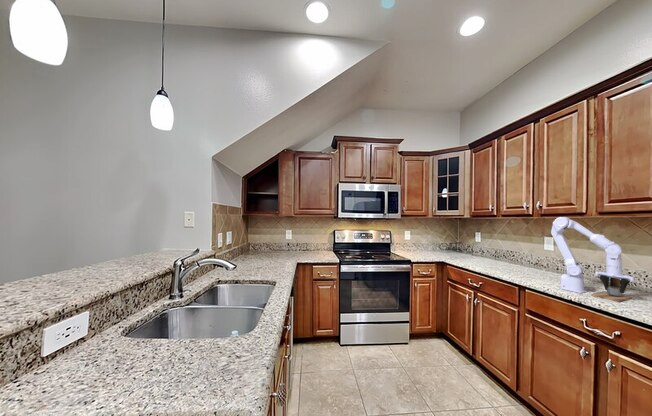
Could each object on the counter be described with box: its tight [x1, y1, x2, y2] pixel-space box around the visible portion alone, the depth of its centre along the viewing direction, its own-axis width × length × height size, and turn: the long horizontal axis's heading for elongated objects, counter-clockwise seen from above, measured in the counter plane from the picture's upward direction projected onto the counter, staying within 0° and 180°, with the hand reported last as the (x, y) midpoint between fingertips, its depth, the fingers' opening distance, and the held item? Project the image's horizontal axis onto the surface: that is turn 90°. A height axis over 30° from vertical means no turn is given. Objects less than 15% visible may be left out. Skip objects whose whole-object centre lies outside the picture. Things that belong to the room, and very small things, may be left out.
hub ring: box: [606, 286, 623, 296], centre depth 140 cm, size 5×5×4 cm
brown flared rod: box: [609, 277, 621, 288], centre depth 153 cm, size 7×6×18 cm
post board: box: [590, 290, 633, 303], centre depth 141 cm, size 11×14×5 cm
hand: (614, 291), depth 141 cm, fingers closed on hub ring, 5 cm apart
